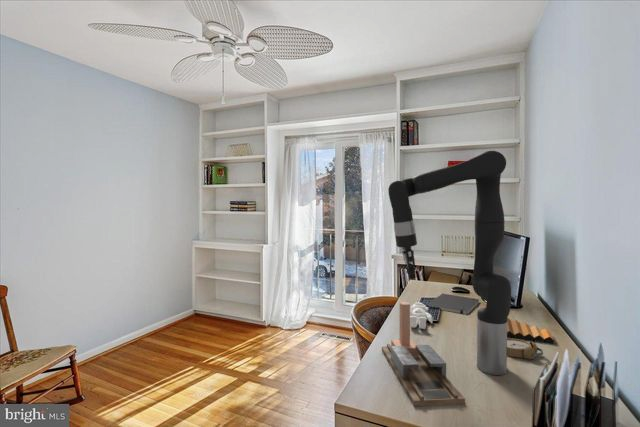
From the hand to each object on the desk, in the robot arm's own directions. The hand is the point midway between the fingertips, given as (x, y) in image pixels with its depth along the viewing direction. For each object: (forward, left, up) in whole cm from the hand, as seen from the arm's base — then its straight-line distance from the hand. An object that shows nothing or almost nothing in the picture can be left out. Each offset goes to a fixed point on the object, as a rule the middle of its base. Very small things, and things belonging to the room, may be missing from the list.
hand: (411, 275), depth 124 cm
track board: (+11, +6, -31) cm, 33 cm away
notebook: (-77, -4, -31) cm, 83 cm away
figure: (-38, -11, -31) cm, 50 cm away
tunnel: (+11, +6, -29) cm, 32 cm away
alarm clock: (-27, +33, -31) cm, 52 cm away
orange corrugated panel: (-54, +29, -31) cm, 69 cm away
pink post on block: (+1, -2, -29) cm, 29 cm away
